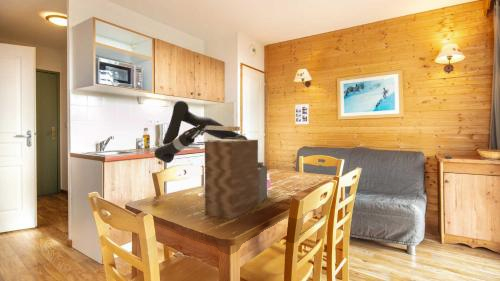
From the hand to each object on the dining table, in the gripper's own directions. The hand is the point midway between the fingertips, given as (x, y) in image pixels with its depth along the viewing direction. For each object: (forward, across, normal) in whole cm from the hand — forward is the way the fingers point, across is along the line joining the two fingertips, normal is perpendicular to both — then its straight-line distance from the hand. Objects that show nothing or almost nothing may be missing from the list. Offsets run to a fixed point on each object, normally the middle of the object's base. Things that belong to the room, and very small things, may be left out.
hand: (206, 124), depth 137 cm
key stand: (-3, -6, +44) cm, 44 cm away
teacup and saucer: (-26, +12, +32) cm, 42 cm away
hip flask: (+1, +15, +46) cm, 48 cm away
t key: (+4, 0, +6) cm, 7 cm away
